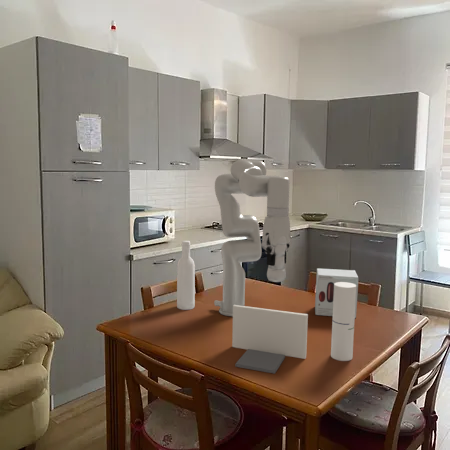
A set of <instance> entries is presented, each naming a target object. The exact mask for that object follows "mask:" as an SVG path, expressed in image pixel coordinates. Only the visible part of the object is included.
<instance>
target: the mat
mask: <svg viewBox="0 0 450 450" xmlns="http://www.w3.org/2000/svg"><path fill="white" fill-rule="evenodd" d="M285 359H286V356H285V355H283V354H276V353H270V352H264V351H258V350H252V349H246V351H245V352H244V353H243V354H242V355H241V357H239V359H238V360H237V361H236V363H235V364H234V365H235V368H241V369H247V370H253V371H259V372H264V373H270V374H276V372H277V371H278V370H279V368H280V366H281V365H282V363H283V362H284V360H285Z"/></svg>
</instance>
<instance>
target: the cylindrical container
mask: <svg viewBox="0 0 450 450" xmlns="http://www.w3.org/2000/svg"><path fill="white" fill-rule="evenodd" d="M355 301H356V285H355V284H353V283H348V282H337V283H334V297H333V316H332V320H331V321H332V322H331V324H332V325H331V345H330V348H331V349H330V357H331V358H332V359H334V360H336V361H340V362H349V361H351V360H352V359H353V357H354V356H353V355H354V354H353V353H354V336H355V335H354V334H355V319H356V318H355Z"/></svg>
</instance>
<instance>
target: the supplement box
mask: <svg viewBox="0 0 450 450" xmlns="http://www.w3.org/2000/svg"><path fill="white" fill-rule="evenodd" d="M315 281H316V283H315V302H314V312H315V316H325V317H327V316H328V317H333V297H334V283H337V282H348V283H353V284H355V285H356V301H355V319H356V318H357V306H358V294H359V293H358V291H359V275H358V274H357V272H356V270H355V269H341V268H340V269H335V268H334V269H333V268H320V267H319V268H316V280H315Z"/></svg>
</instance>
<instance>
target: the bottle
mask: <svg viewBox="0 0 450 450" xmlns="http://www.w3.org/2000/svg"><path fill="white" fill-rule="evenodd" d="M191 246H192V245H191V241H190V240H182V241H181V257H180V258H179V259H178V261H177V265H176V278H177V279H176V282H177V283H176V307H177V309H179V310H182V311H190V310H193V309H194V308H195V304H196V301H195V299H196V298H195V297H196V296H195V288H196V287H195V285H196V284H195V283H196V282H195V281H196V280H195V277H196V275H195V273H196V271H195V270H196V269H195V268H196V265H195V264H196V263H195V261H194V259H193V258H192V257H191Z"/></svg>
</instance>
